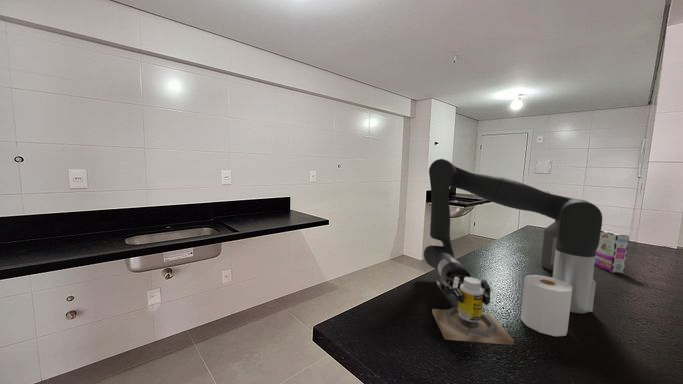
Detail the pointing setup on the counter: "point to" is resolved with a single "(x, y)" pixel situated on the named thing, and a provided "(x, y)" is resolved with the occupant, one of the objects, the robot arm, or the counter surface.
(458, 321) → the seat plate
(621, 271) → the candy bar box
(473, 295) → the supplement bottle
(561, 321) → the toilet paper
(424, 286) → the counter surface
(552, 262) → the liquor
